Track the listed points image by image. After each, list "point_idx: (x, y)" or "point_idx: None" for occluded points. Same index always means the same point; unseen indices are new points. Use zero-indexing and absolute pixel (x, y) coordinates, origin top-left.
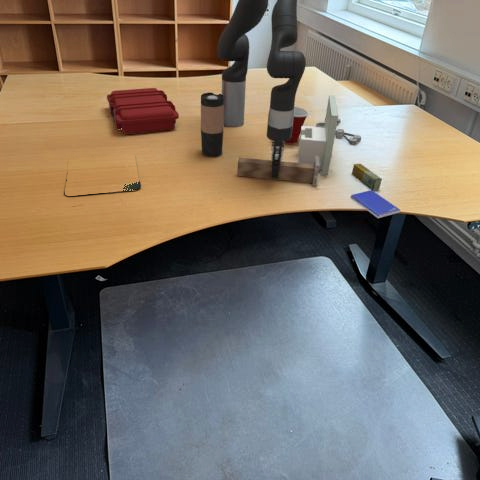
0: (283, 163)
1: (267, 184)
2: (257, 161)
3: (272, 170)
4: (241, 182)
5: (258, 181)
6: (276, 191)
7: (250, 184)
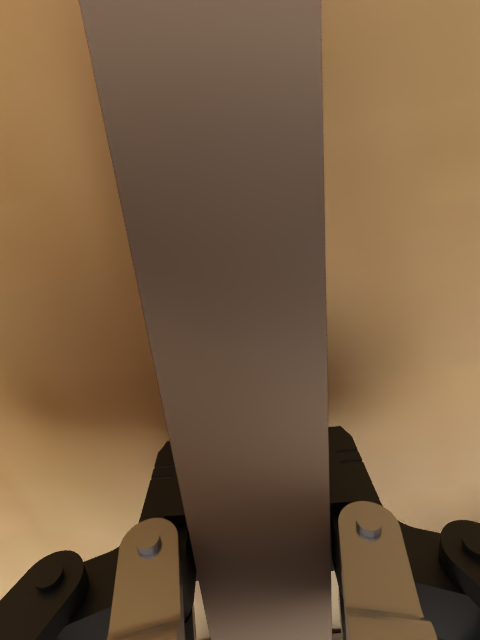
0: (272, 625)
1: (97, 384)
2: (221, 315)
3: (175, 480)
4: (9, 111)
5: (119, 296)
6: (12, 465)
7: (17, 229)
